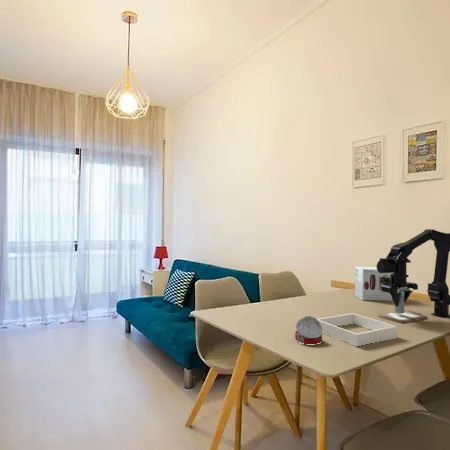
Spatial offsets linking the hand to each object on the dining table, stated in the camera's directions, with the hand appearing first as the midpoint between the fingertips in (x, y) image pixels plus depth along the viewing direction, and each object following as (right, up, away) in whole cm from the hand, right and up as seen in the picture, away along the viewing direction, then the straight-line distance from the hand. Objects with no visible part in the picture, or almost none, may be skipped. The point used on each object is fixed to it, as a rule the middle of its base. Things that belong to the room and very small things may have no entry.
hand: (399, 305), depth 164 cm
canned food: (-50, -7, -31) cm, 59 cm away
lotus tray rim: (-29, -6, -23) cm, 38 cm away
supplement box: (+6, -6, +42) cm, 43 cm away
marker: (0, -3, 0) cm, 3 cm away
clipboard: (+2, -6, +1) cm, 6 cm away
